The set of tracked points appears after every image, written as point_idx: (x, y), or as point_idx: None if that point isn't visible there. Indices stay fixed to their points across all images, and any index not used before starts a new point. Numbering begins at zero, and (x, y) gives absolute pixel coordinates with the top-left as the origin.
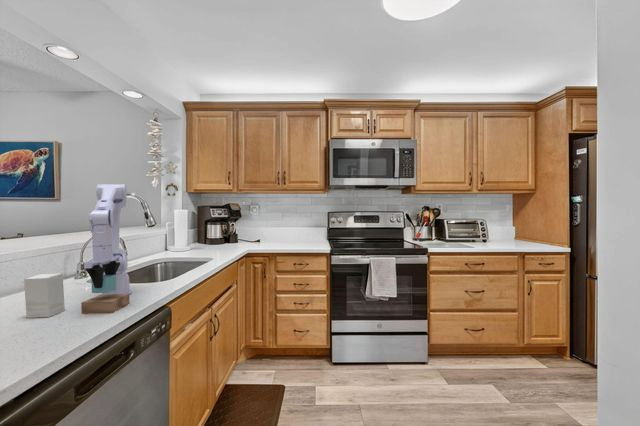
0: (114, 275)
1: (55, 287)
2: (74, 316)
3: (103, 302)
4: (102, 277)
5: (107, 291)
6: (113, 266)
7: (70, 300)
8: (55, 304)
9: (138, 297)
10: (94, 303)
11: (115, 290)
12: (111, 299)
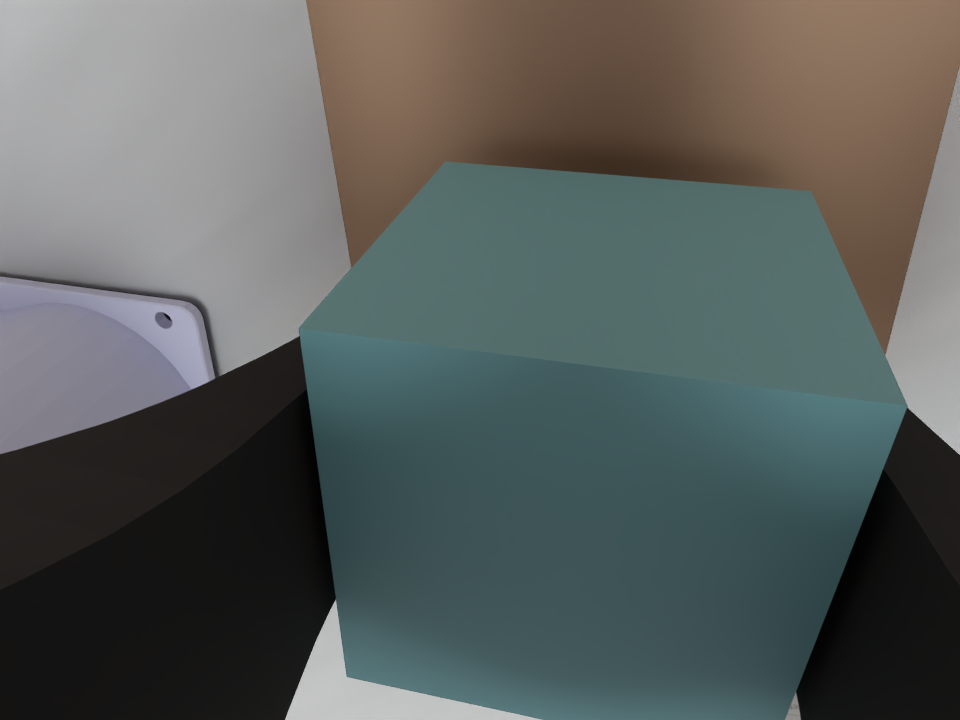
0: (372, 333)
1: None
2: (938, 408)
3: (940, 115)
4: (925, 514)
5: (763, 196)
6: (100, 658)
7: (304, 686)
8: (799, 717)
9: (32, 34)
10: (895, 282)
11: (95, 389)
12: (746, 64)
